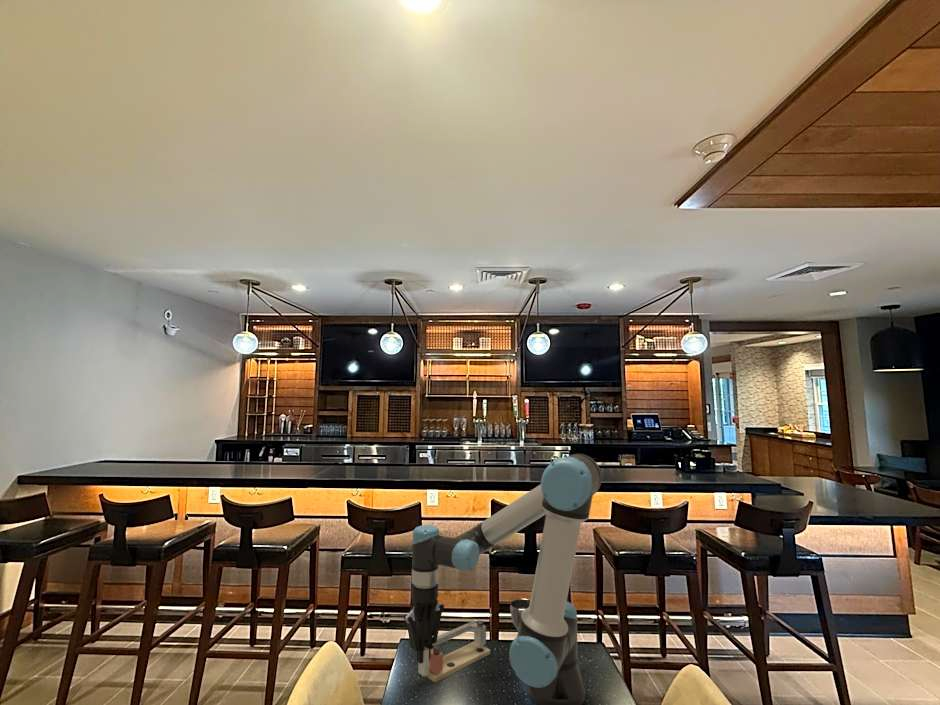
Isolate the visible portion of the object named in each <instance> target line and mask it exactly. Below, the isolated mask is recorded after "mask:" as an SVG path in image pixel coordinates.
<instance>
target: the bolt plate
mask: <svg viewBox="0 0 940 705" xmlns="http://www.w3.org/2000/svg"><path fill="white" fill-rule="evenodd" d="M489 655H491V649H490V648H488V647H486V646H485V645H483V646H482V650H481V651H479V646H477V645H476V644H474V641H472V642H470V643H468V644H466V645H463V646H462V647H460V648H458V649H455V650H453V651H451V652H449V653H448V654H445V655H443V670H442V671H440V672H438V673H436V674H435V673H434V672H432V671H431V670H430V662H429V675H427V676H425V677H426V678H428V679H429V680H430V681H432V682H434V683H438V682H440V681H441V680H443V679H445V678H447V677H449V676H452V675H453V674H455V673H457V672H458V671H461V670H463V669H464V668H466V667H468V666H470V665H472V664H473V663H475V662H478V661H479V660H481V659H483V658H485V657H487V656H489Z"/></svg>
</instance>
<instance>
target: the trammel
mask: <svg viewBox="0 0 940 705" xmlns="http://www.w3.org/2000/svg"><path fill="white" fill-rule="evenodd" d="M469 631H470V632H472V633H473V642H474V644H476V645H477V646H479V651H481V650H482V646H485V645H486V644H487V626H486V625H484V621H483V620H477V622H475V621H474V620H473V621H470V622H467V623H465V624H463V625H461V626H458V627H455V628H453V629H451V630H449V631H447V632H443V633H442V634H440V635H439V634H438V637H437V642H436V643H433V644H432V645H433V646H434V647H436V646H439V645H441V644H443V643H445V642H447V641H449V640H452V639H454V638H456V637H458V636H461V635H462V634H465V633H467V632H469Z"/></svg>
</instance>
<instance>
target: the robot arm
mask: <svg viewBox="0 0 940 705" xmlns="http://www.w3.org/2000/svg"><path fill="white" fill-rule="evenodd" d="M602 478H603V477H602V471H601V468H600V467H599V464H598V463H597V462H596V461H595V459H593V457H590V456H588V455H586V454H582V453H573V454H570V455H568V456H563V457H559V458H557V459H555V460H554V461H552V462H550V463H549V465H548V466H546V468H545V469H544V471H543V473H542V476H541V479H540V484H539V485H537V486H536V487H534V488H532V489H530V490H529V491H528V492H526V493H525V494H523V495H522V496H520V497H519V498H517V499H515V500H514V501H513V502H511V503H509V504H508V505H506V506H505V507H503V508H502V509H500V510H498V511H497V512H496V513H494V514H492V515H491V516H489V517H488V518H486V519H485V520H483V521H482V522H480V523H478V524H477V525H475V526H474V527H472V528H470V529H469V530H467V531H464V532H463V533H461V534H459V535H457V536H456V537H449V536H443V535H440V530H439V527H438V526H435V525H432V524H425V525H424V524H423V525H419V526H416V527H415V528H414V529H413V532H412V542H411V550H412V551H411V552H412V554H411V555H412V560H411V562H412V563H411V584H412V585H411V595H410V596H411V601H412V602H411V603H412V604H411V607H410V611H409V612H408V614H404V615H403V619H404V621H405V623H406V627H407V633H408V640H409V644H410V648H411V649H412V650H414V651H415V652H416V662H417V663H418V670H417V672H418V674H420V675H421V676H423V677H426V676H427V675H429V663H430V657H431V655H430V654H431V649H433V648H434V647H435V646H433V645H432V644H433V643H436V642H437V637H438V636H439V632H440V631H439V630H440V625H441V624H440V623H441V618H442V615H443V614H442V613H443V611H444V609H445V605H444V604H442V603H440V602H439V601H438V598H439V584H438V583H439V566H441V567H442V566H443V567H447V568H451V569H452V568H453V569H457V570H460V571H472V570H474V569H475V568H476V567H477V564H478V562H479V559H480V556H481V555H483V554H484V553H487V551H489V550H491V549H492V548H494V547H495V546H496V545H498V544H500V543H501V542H504V540H507V539H508V538H510V537H511V536H513V535H515V534H516V533H517V532H519V531H521V530H522V529H524V528H526V527H527V526H529V525H531V524H532V523H534V522H536V521H537V520H539V519H541V518H542V517H543V516H545V518H544V519H545V520H544V524H543V525H544V526H543V531H542V536H541V542H540V547H539V552H538V557H537V564H536V566H535V567H536V568H535V574H534V580H533V585H532V591H531V593H530V594H531V595H530V599H529V600H530V605H529V608H527V609H525V610H523V612H522V614H521V620H520V625H519V630H518V629H517V635H516V637H515V638H514V639H513V641H512V642H511V645H510V647H509V653H508V656H509V658H508V659H509V663H510V666H511V669H513V671H514V673H515V675H516V676H517V678H518V679H520V680H521V681H522V682H523V683H524V684H526V686H527V693H528V697H529V698H530V700H532V701H533V702H534V703H535V704H537V705H583V704H584V702H585V700H586V689H585V683H584V681H583V678H582V674H581V671H580V668H579V663H578V662H579V661H578V660H579V659H578V657H579V656H578V615H577V612H578V611H577V608H576V606H575V605H574V604H573V603H572V602H569V601H568V596H569V590H570V585H571V579H572V576H573V574H572V573H573V569H574V565H575V564H574V563H575V557H576V553H577V547H578V543H579V542H578V540H579V535H580V530H581V527H582V526H581V525H582V523H584V522H585V521H587V520H588V519H589V518H590V514H591V508H592V502H593V497H594V495H595V494H596V493H597V492H598V491H599V489H600V488H601V484H602V481H603V480H602Z"/></svg>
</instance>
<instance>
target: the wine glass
mask: <svg viewBox="0 0 940 705" xmlns="http://www.w3.org/2000/svg"><path fill="white" fill-rule="evenodd" d="M530 600H531V599H527V598H516V599H513V600H511V601H510V607H509V609H510V616H511V621H512V624H513V625H514V627H515V628H516V630H517V631H518V630H519V625H520V620H521V614H522V612H523V610H525V609H527V608H529V605H530Z"/></svg>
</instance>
